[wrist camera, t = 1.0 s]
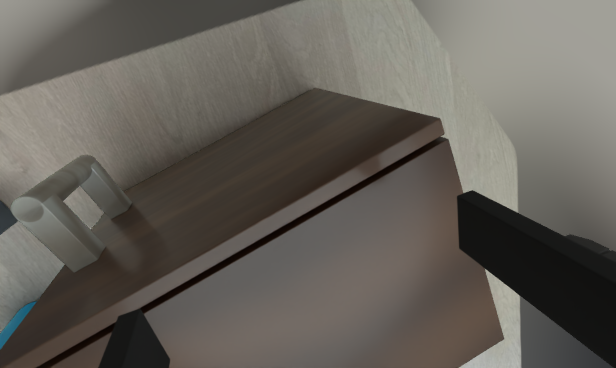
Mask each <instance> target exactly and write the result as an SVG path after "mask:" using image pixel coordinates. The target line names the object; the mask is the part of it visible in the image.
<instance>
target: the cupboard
mask: <svg viewBox="0 0 616 368" xmlns="http://www.w3.org/2000/svg"><path fill="white" fill-rule="evenodd" d="M461 194H463V190H462V186H461V183H460V179H459V176H458V172H457V169H456V165H455V161H454V158H453V154H452V151H451V147H450V143H449V140H448V139H446V138H443V137H438V138H437V139H435V140H433V141H431V142H430V143H428V144H426V145H424V146H423V147H421V148H419V149H418V150H416V151H414V152H412V153H411V154H409V155H407V156H405V157H404V158H402V159H400V160H398V161H397V162H395V163H393V164H391V165H390V166H388V167H386V168H384V169H383V170H381V171H379V172H377V173H376V174H374V175H372V176H370V177H369V178H367V179H365V180H363V181H362V182H360V183H358V184H356V185H355V186H353V187H351V188H349V189H348V190H346V191H344V192H342V193H341V194H339V195H337V196H335V197H334V198H332V199H330V200H328V201H327V202H325V203H323V204H321V205H320V206H318V207H316V208H314V209H313V210H311V211H309V212H307V213H306V214H304V215H302V216H300V217H299V218H297V219H295V220H293V221H292V222H290V223H288V224H286V225H285V226H283V227H281V228H279V229H278V230H276V231H274V232H272V233H271V234H269V235H267V236H265V237H264V238H262V239H260V240H258V241H257V242H255V243H253V244H251V245H250V246H248V247H246V248H244V249H243V250H241V251H239V252H237V253H236V254H234V255H232V256H230V257H229V258H227V259H225V260H223V261H222V262H220V263H218V264H216V265H215V266H213V267H211V268H209V269H208V270H206V271H204V272H202V273H201V274H199V275H197V276H195V277H194V278H192V279H190V280H188V281H187V282H185V283H183V284H181V285H180V286H178V287H176V288H174V289H173V290H171V291H169V292H167V293H166V294H164V295H162V296H160V297H159V298H157V299H155V300H153V301H152V302H150V303H148V304H146V305H145V306H143V307H141V308H139V309H141V311H142V312H143V314H144V316H145V317H146V319H147V321H148V322H149V324H150V326H151V328H152V329H153V331H154V333H155V334H156V336H157V338H158V339H159V341H160V343H161V345H162V346H163V348H164V350H165V351H166V353H167V355H168V356H169V358H170V365H169V368H459V367H460V366H462V365H463V364H465V363H467V362H468V361H470V360H471V359H473V358H475V357H476V356H478V355H479V354H481V353H482V352H484V351H486V350H487V349H489V348H490V347H492V346H494V345H495V344H497V343H498V342H500V341H502V340H503V339H504V336H503V333H502V329H501V326H500V322H499V319H498V315H497V311H496V308H495V304H494V301H493V297H492V294H491V290H490V286H489V283H488V279H487V276H486V272H485V269H484V267H482V266H481V265H480V264H478V263H477V262H476V261H475V260H473V259H472V258H471V257H469V256H468V255H467V254H466V253H464V252H463V251H462V250H460V249H459V235H458V211H457V196H458V195H461ZM115 323H116V322H115ZM115 323H113V324H112V325H110V326H108V327H106V328H105V329H103V330H101V331H99V332H98V333H96V334H94V335H92V336H91V337H89V338H87V339H85V340H84V341H82V342H80V343H78V344H77V345H75V346H73V347H71V348H70V349H68V350H66V351H64V352H63V353H61V354H59V355H57V356H56V357H54V358H52V359H50V360H49V361H47V362H45V363H43V364H42V365H40V366H38V367H36V368H98V367H99V364H100V362H101V359H102V357H103V354H104V351H105V349H106V346H107V344H108V341H109V339H110V336H111V334H112V331H113V328H114V326H115Z"/></svg>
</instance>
